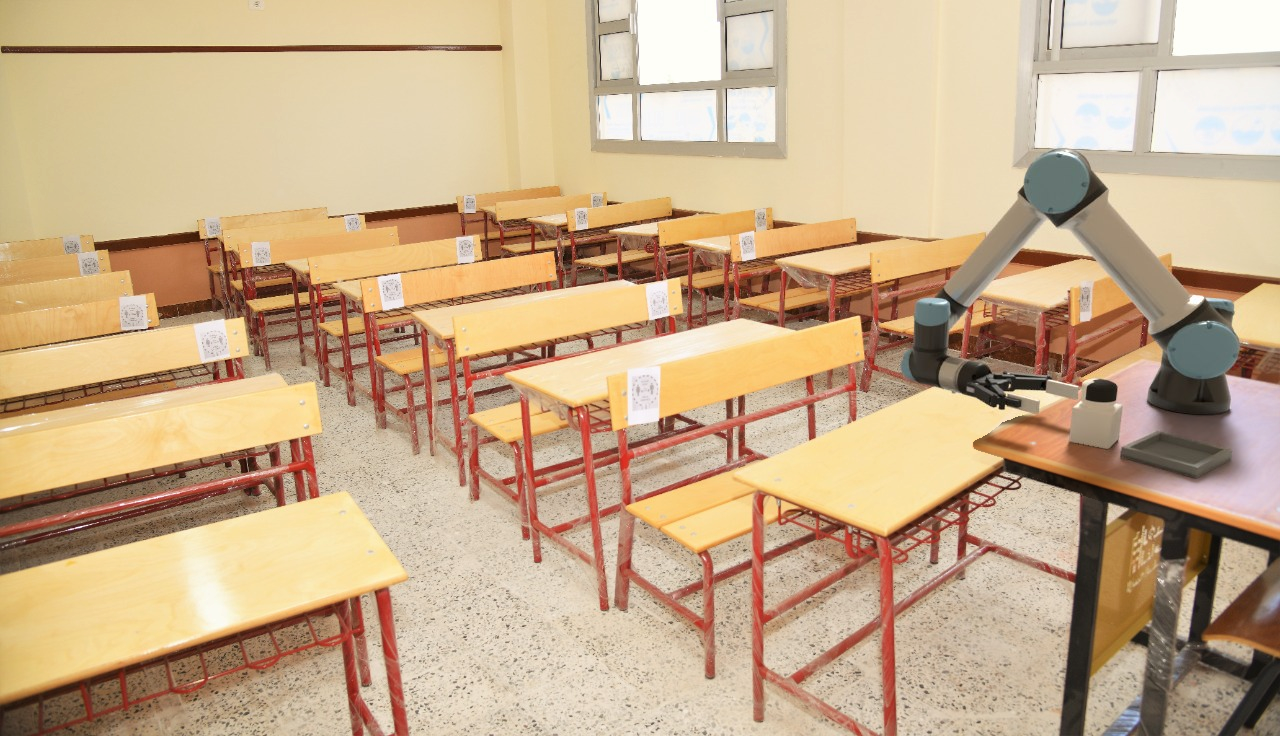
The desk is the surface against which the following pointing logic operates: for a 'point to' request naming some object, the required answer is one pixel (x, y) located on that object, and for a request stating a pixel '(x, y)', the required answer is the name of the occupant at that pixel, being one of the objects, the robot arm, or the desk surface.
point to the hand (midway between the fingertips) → (1058, 400)
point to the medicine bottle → (1096, 415)
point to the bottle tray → (1176, 454)
